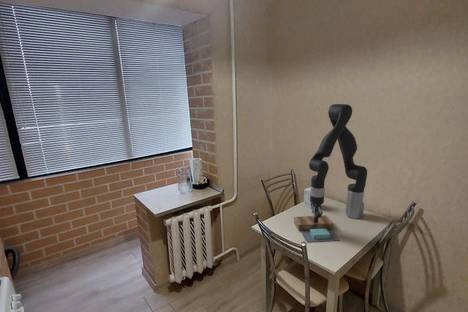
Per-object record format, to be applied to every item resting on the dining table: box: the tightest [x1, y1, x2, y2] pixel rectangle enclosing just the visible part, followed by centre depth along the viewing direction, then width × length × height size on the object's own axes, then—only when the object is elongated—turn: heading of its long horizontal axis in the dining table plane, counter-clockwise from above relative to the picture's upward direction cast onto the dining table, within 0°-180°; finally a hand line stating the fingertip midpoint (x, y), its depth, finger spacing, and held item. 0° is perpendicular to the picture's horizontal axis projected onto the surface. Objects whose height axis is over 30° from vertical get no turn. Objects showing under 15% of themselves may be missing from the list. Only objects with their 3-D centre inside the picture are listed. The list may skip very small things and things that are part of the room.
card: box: [310, 229, 330, 239], centre depth 137 cm, size 9×6×2 cm, turn 92°
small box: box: [303, 186, 312, 210], centre depth 173 cm, size 8×6×13 cm
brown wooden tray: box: [293, 214, 334, 232], centre depth 148 cm, size 20×10×4 cm, turn 92°
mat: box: [300, 230, 341, 243], centre depth 138 cm, size 18×11×1 cm, turn 92°
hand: (315, 222), depth 143 cm, fingers closed
